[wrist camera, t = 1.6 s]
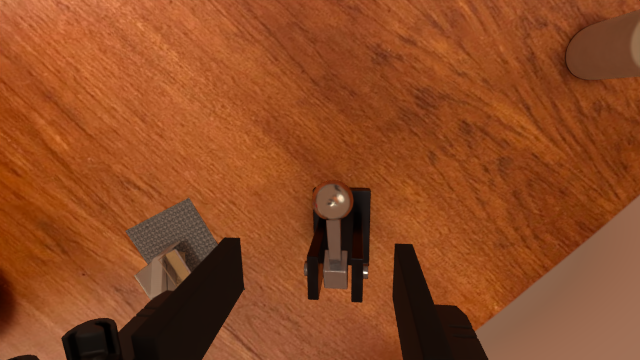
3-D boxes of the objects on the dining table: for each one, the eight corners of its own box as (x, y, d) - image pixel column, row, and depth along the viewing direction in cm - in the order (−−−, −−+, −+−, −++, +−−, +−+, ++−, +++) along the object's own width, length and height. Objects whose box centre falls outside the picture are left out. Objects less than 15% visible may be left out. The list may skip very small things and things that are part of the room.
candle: (609, 11, 32) (716, -26, 22) (633, 58, 33) (746, 42, 23) (555, 46, 33) (634, 25, 24) (579, 91, 34) (666, 88, 25)
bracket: (314, 187, 40) (294, 226, 28) (370, 188, 39) (375, 229, 27) (315, 259, 43) (298, 324, 30) (368, 261, 42) (372, 329, 30)
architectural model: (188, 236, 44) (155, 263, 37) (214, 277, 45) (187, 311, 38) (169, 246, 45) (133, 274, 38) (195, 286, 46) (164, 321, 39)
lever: (312, 171, 25) (307, 198, 23) (353, 171, 25) (352, 199, 22) (321, 263, 33) (318, 291, 30) (353, 265, 32) (352, 293, 30)
